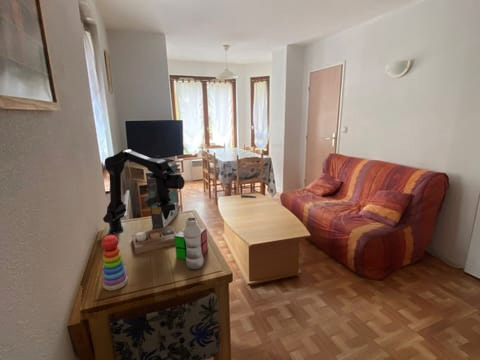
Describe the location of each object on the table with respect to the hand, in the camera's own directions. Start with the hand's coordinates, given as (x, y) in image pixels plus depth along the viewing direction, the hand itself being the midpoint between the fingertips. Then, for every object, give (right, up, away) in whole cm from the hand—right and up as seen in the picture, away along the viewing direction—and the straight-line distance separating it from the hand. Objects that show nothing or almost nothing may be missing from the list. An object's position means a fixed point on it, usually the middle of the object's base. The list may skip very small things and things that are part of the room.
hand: (165, 219), depth 120 cm
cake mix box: (-6, -4, +24) cm, 25 cm away
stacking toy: (-9, -19, -30) cm, 36 cm away
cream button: (-10, -9, -3) cm, 14 cm away
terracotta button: (-5, -10, 0) cm, 11 cm away
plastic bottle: (+18, -15, -21) cm, 31 cm away
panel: (-5, -10, 0) cm, 11 cm away
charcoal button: (+1, -9, +2) cm, 10 cm away
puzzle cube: (+15, -13, -11) cm, 23 cm away
